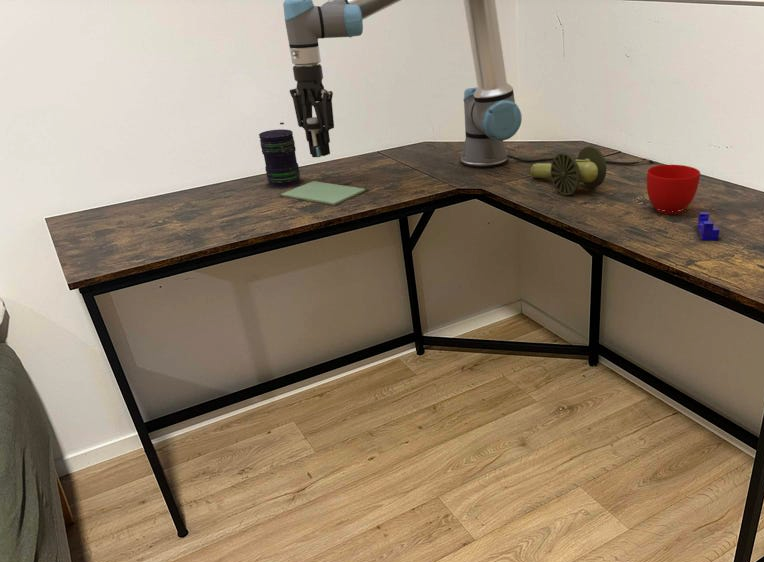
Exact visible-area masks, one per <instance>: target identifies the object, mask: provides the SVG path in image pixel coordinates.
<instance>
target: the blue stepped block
mask: <svg viewBox="0 0 764 562" xmlns="http://www.w3.org/2000/svg"><path fill="white" fill-rule="evenodd" d="M697 218H698V219H697V227H696V229H697V231H698V234H699V236H700V238H701V240H702V241H719V236H720V228H719V227H718V226H714V225H715V224H714V221H710V220H709V219H710V213H709V212H708V211H699V212H698V217H697ZM698 224H699V225H698ZM700 230H701V231H700Z"/></svg>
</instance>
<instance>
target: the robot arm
mask: <svg viewBox="0 0 764 562" xmlns="http://www.w3.org/2000/svg"><path fill="white" fill-rule="evenodd" d="M401 1H402V0H330V1H329V0H328V1H326V2H325V3H323V4H321V6H320V5H315V4H314V1H313V0H284V1H283V3H282V6H283V17H284V23H285V24H284V25H285V30H286V34H287V40H288V46H289V52H290V58H291V63H292V64H293V67H292V72H293V78H294V81H295V82H296V87H295V88H292V89H289V94H290V96H291V98H292V102H293V106H294V112H295V117H296V120H297V125H298V127H299V128H303V130H304V132H305V138H306V142H308V148H309V154H310V155H311V156H312V153H311V147H312V142H313V140H312V133H311V131H309V130H307V129H306V126H305V125H304V123H305V122H306V121H307V119H308V118H312V117H313V108H314V112H315V117H317V120H318V123H320V125H319V127H320V130H319V132H318V134H319V140H320V147H321V154H322V156H321V157H326V156H329V155H331V148H330V143H331V138H330V130H332V129H334V128H335V121H334V120H335V119H334V110H333V97H334V96H333V95H334V93H333V91H332V90H327V89H325V86H324V84H323V79H324V72H323V66H322V65H321V64H320V63H321V62H322V61H321V60H322V58H321V52H320V46H319V39H321V40H322V39H333V38H337V39H338V38H350V39H351V38H353V37H360V36H361V35H362V34H363V31H364V23H363V22H364V21H363V20H365V19H367V18H369V17H372V16H373V15H375V14H377V13H379V12H381V11H383V10H385V9H387V8H389V7H391V6H393V5H395V4H397V3H399V2H401ZM462 1H463V6H464V13H465V18H466V24H467V25H466V26H467V32H468V38H469V44H470V50H471V55H472V63H473V68H474V74H475V80H476V86H475V87H468V88H466V89H465V90H464V92H463V108H464V110H463V111H464V129H465V139H464V143H463V147H462V151H461V154H460V163H461V165H463V166H464V167H470V168H478V169H486V168H487V169H488V168H489V169H490V168H495V167H500V166H501V167H502V166H503V165H505V164H507V163H508V162H509V159H511V160H516V161H519V162H523V163H536V162H537V163H538V162H544V161H546V162H547V161H553V159H554V158H555V157H545V158H535V159H523V158H519V157H516V156H513V155H509V154H508V151H507V148H506V146H505V143H504V141H507V140H509V139H511V138H512V137H514V136H515V135H516V134H517V132H518V131H519V129H520V127H521V124H522V122H523V121H522V118H523V117H522V115H523V114H522V111H521V109H520V107H519V105H518V104H517V103H516V100H515V93H514V87H513V86H512V85H511V84H510V83H508V82H507V74H506V67H505V66H506V65H505V59H504V52H503V45H502V39H501V31H500V24H499V18H498V11H497V3H496V0H462ZM573 158H574V159H575V160H577V158H578V157H573ZM646 159H647V158H641V160H646ZM605 162H606V164H612V165H623V166H625V165H627V166H630V165H637V164H640V163H642V162H644V161H642V162H635V161H632V162H631V161H629V162H627V161H626V162H625V161H623V162H622V161H614V160H613V161H612V160H605ZM647 162H648V163H650V164H651V165H652V164H653V165H654V164H655V163H654V161H653V160H651V159H650V161H647Z"/></svg>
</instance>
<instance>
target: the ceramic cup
mask: <svg viewBox="0 0 764 562" xmlns="http://www.w3.org/2000/svg"><path fill="white" fill-rule="evenodd" d="M700 178H701V172H700V170H699V169H697V168H695V167H692V166H689V165H683V164H660V165H655V166H651V167H649V168H648V169H647V171H646V191H647V196H648V199H649V201H650V203H651V205H652V206H653V207H654V209H655V210H656V212H658V213H660V214H663V215H679V214H680V213H682V212H683V211H684V210H685V209H686V208H687V207H688V206H690V204H691V203H692V202H693V200H694V199H695V196H696V193H697V191H698V187H699V183H700ZM656 208H657V209H656ZM658 209H660V210H658ZM682 209H683V210H682ZM662 210H665V211H662ZM678 210H681V211H678ZM672 211H673V212H672Z"/></svg>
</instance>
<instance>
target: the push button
mask: <svg viewBox="0 0 764 562" xmlns="http://www.w3.org/2000/svg"><path fill="white" fill-rule="evenodd" d="M304 125H305V126H306V129H307V130H309V131H311V133H312V140H313V142H312V147H311V153H312V155H311V157H312V158H322V157H323V156H322V154H321V147H320V140H319V134H318V132H319V130H320V127H319V125H320V123H318V120H317V116H312V118H308V119H307V121H306V122H305V123H304Z"/></svg>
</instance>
